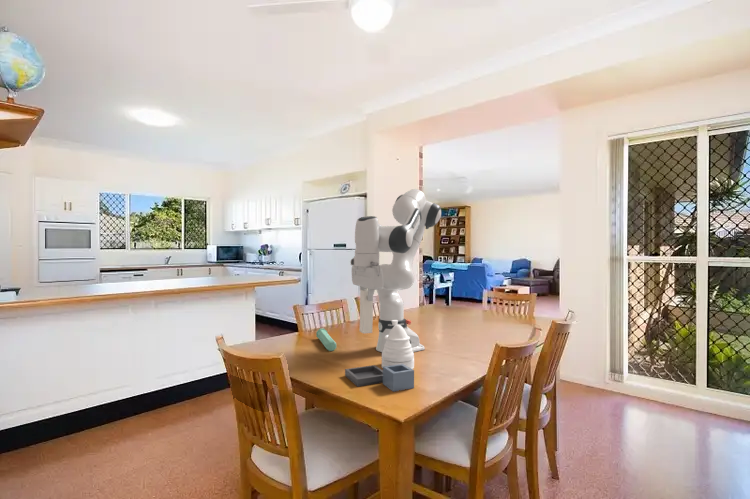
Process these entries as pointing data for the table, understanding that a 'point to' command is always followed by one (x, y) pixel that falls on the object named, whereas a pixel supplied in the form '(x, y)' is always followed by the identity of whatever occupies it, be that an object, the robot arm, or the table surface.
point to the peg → (365, 313)
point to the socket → (398, 377)
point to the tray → (365, 375)
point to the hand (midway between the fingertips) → (366, 299)
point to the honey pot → (397, 348)
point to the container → (326, 339)
